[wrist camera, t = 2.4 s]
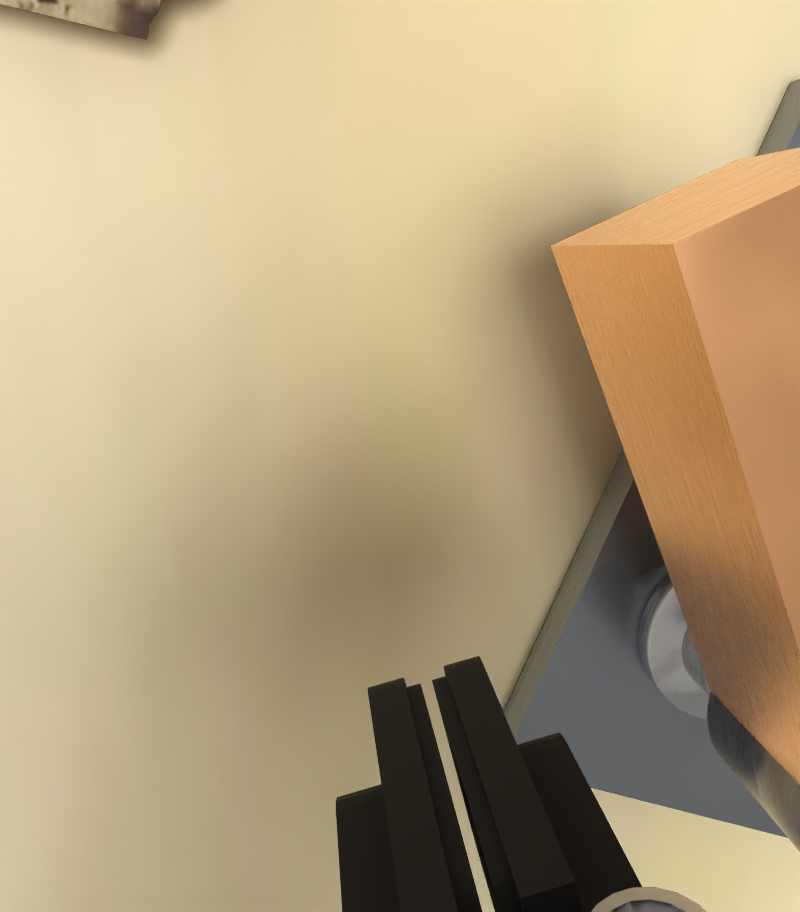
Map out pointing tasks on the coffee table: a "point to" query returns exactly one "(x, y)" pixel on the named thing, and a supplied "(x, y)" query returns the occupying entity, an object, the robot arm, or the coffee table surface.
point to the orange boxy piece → (714, 432)
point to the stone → (97, 13)
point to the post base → (634, 653)
